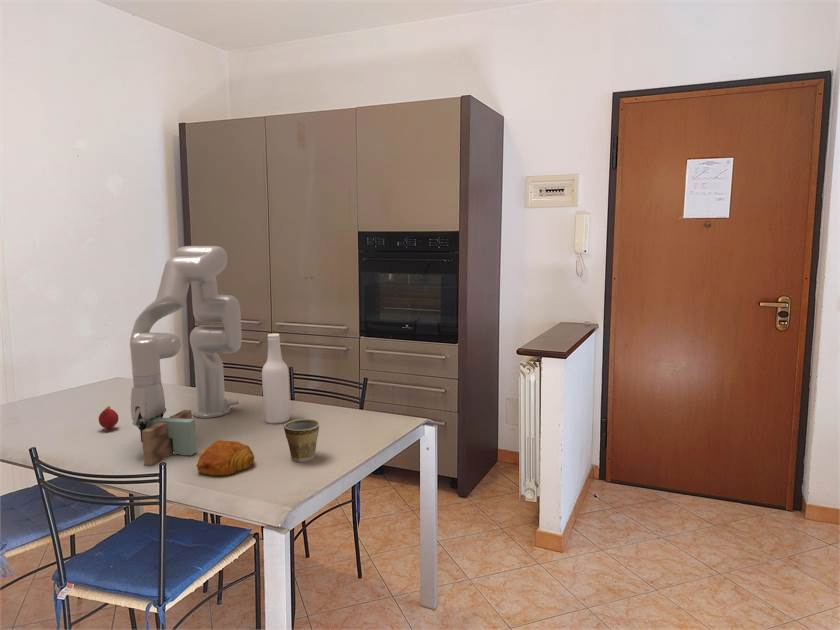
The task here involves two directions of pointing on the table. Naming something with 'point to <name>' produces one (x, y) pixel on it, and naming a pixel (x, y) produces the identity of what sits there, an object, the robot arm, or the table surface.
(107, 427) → the onion
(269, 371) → the alcohol
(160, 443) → the walnut slotted plate
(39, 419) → the table surface
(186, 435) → the green slotted plate
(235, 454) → the croissant
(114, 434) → the table surface
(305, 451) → the ceramic cup
